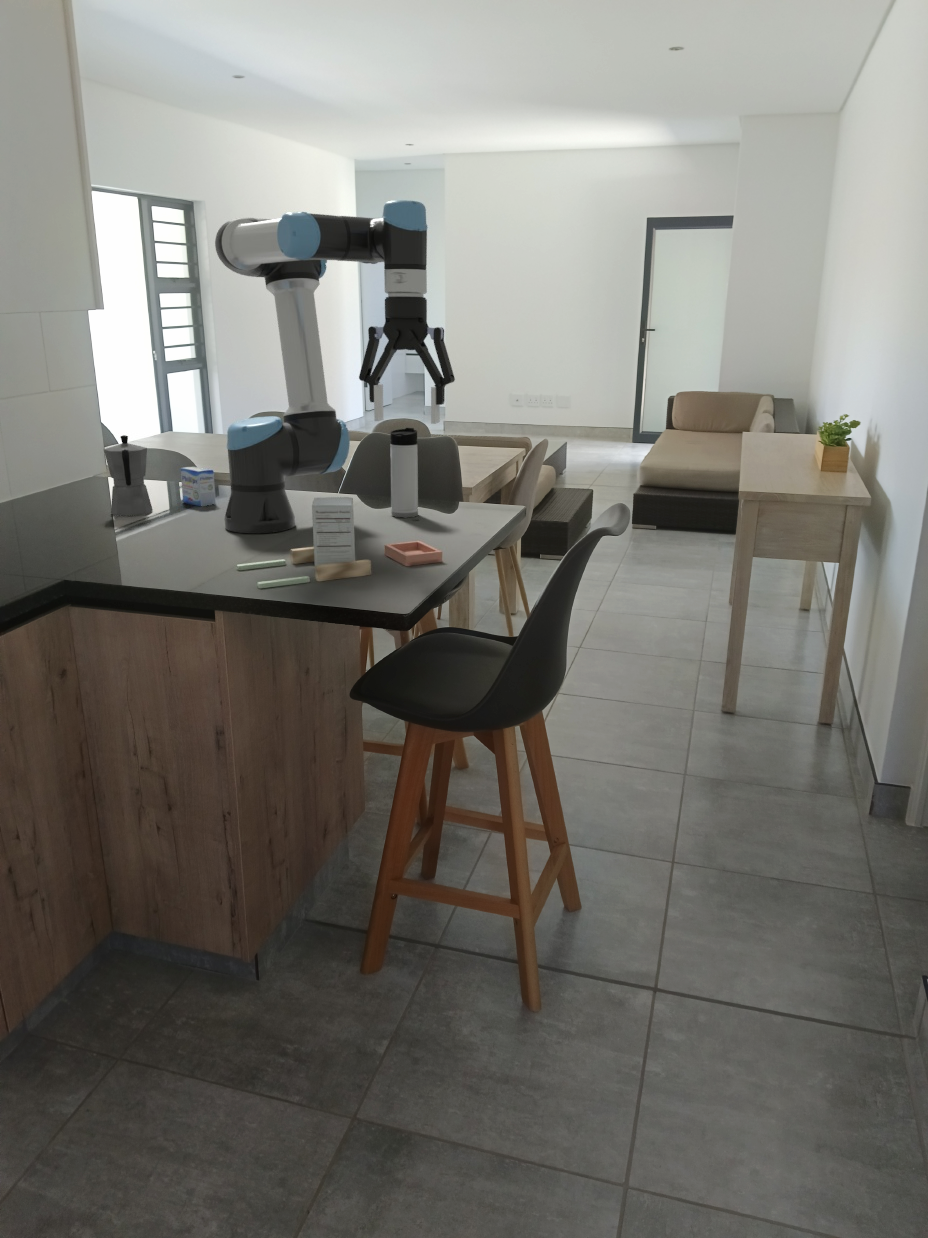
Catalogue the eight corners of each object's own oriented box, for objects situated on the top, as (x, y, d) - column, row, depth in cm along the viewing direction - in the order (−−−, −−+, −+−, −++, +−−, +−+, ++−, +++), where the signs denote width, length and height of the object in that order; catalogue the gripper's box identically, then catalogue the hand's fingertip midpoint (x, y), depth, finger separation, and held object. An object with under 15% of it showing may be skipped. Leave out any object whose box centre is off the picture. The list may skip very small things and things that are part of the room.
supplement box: (316, 563, 174) (313, 496, 170) (355, 562, 175) (354, 496, 171) (313, 573, 167) (310, 504, 163) (354, 572, 168) (352, 504, 164)
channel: (318, 581, 162) (318, 567, 161) (291, 562, 174) (290, 549, 174) (371, 574, 167) (370, 561, 166) (340, 556, 179) (340, 543, 178)
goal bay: (259, 588, 157) (259, 583, 157) (236, 568, 169) (236, 564, 169) (309, 582, 162) (309, 577, 161) (283, 563, 174) (283, 559, 173)
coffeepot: (111, 508, 221) (102, 432, 215) (152, 506, 224) (145, 431, 218) (110, 521, 207) (101, 440, 202) (154, 519, 210) (146, 439, 205)
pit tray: (406, 566, 172) (406, 555, 172) (384, 554, 181) (384, 544, 180) (442, 561, 176) (442, 551, 175) (419, 550, 184) (419, 540, 184)
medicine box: (182, 502, 229) (179, 467, 226) (197, 500, 232) (195, 465, 229) (201, 506, 224) (198, 471, 221) (216, 504, 227) (213, 469, 225)
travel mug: (423, 513, 218) (422, 428, 212) (410, 519, 213) (409, 431, 206) (400, 511, 221) (399, 426, 215) (386, 516, 215) (385, 429, 209)
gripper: (337, 294, 164) (341, 421, 171) (461, 295, 158) (460, 426, 165) (354, 295, 171) (357, 417, 178) (473, 296, 165) (471, 421, 172)
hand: (406, 421), depth 171 cm, fingers open, 10 cm apart
